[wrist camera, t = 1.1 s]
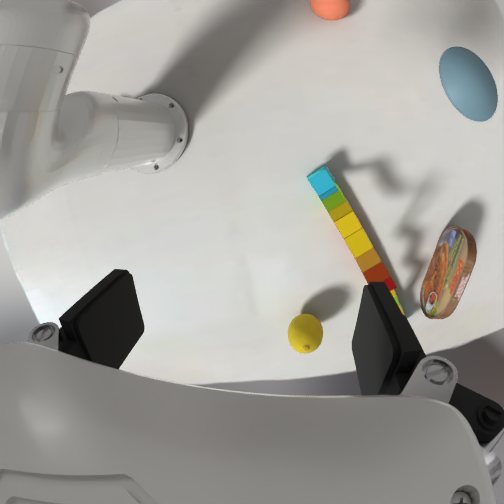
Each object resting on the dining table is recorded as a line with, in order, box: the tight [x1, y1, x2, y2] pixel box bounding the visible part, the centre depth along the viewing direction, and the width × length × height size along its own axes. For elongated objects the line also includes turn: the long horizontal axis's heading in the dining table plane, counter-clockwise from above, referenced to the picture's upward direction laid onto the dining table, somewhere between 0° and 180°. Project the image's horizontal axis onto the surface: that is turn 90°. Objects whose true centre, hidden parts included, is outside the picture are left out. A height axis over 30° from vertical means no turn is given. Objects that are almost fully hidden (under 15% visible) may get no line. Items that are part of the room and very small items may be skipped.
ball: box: [310, 0, 350, 20], centre depth 24 cm, size 6×6×6 cm
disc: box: [439, 47, 498, 121], centre depth 26 cm, size 13×13×1 cm
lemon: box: [288, 314, 323, 353], centre depth 42 cm, size 6×6×8 cm
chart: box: [307, 166, 406, 317], centre depth 34 cm, size 30×3×15 cm, turn 36°
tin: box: [420, 226, 477, 319], centre depth 35 cm, size 15×3×8 cm, turn 171°
